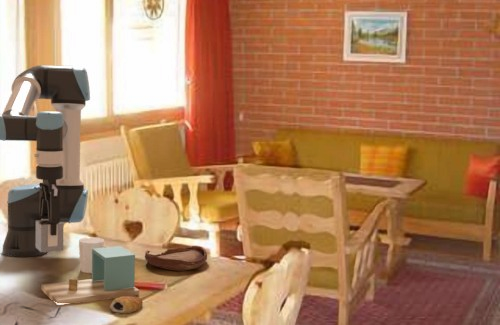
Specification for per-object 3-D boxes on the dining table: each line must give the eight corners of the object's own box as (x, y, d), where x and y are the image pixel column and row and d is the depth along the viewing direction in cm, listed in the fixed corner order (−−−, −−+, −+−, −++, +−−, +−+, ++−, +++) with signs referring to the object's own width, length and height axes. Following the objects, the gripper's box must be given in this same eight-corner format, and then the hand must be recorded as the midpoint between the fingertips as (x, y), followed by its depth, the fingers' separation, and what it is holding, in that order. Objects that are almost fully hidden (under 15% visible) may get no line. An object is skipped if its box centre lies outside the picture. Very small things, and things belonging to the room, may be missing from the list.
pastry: (130, 302, 216) (130, 289, 215) (149, 307, 212) (149, 294, 212) (107, 311, 208) (108, 297, 207) (127, 316, 204) (127, 302, 204)
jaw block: (35, 247, 225) (35, 220, 224) (57, 245, 228) (57, 219, 227) (41, 252, 219) (41, 224, 218) (63, 250, 223) (63, 223, 222)
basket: (172, 253, 273) (172, 239, 272) (220, 262, 263) (220, 248, 262) (132, 266, 253) (133, 252, 252) (182, 277, 243) (183, 261, 243)
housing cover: (91, 280, 229) (92, 248, 227) (120, 277, 233) (120, 245, 232) (105, 290, 219) (105, 257, 218) (134, 287, 224) (135, 254, 222)
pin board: (41, 289, 224) (41, 274, 223) (118, 280, 236) (119, 266, 235) (57, 305, 210) (57, 289, 209) (138, 295, 222) (139, 280, 222)
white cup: (98, 274, 241) (98, 243, 240) (74, 272, 243) (74, 241, 241) (107, 268, 249) (108, 238, 247) (84, 266, 250) (85, 236, 249)
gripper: (28, 161, 227) (28, 237, 230) (45, 169, 211) (44, 251, 213) (53, 160, 231) (53, 235, 234) (72, 168, 214) (71, 249, 217)
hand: (49, 243), depth 223 cm, fingers closed on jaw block, 6 cm apart
